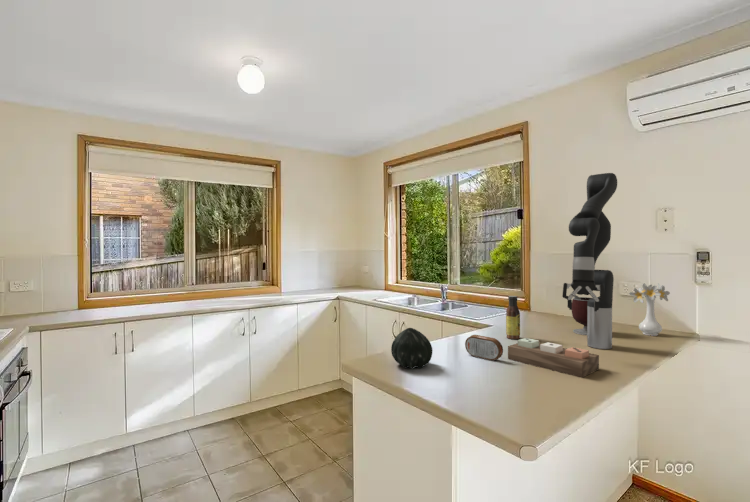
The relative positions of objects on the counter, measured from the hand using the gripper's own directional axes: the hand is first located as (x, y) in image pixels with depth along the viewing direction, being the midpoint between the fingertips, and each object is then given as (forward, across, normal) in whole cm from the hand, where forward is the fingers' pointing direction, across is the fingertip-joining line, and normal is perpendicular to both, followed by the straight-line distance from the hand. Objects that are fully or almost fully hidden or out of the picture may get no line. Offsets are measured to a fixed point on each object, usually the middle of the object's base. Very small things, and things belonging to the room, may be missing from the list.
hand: (582, 310), depth 147 cm
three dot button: (+16, +3, +16) cm, 23 cm away
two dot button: (+16, +19, +8) cm, 26 cm away
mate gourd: (+15, -6, -50) cm, 53 cm away
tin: (+20, +35, +14) cm, 43 cm away
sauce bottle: (+18, +27, -24) cm, 40 cm away
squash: (+22, +58, +34) cm, 71 cm away
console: (+20, +11, +12) cm, 25 cm away
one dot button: (+16, +11, +12) cm, 23 cm away
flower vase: (+14, -34, -58) cm, 69 cm away
